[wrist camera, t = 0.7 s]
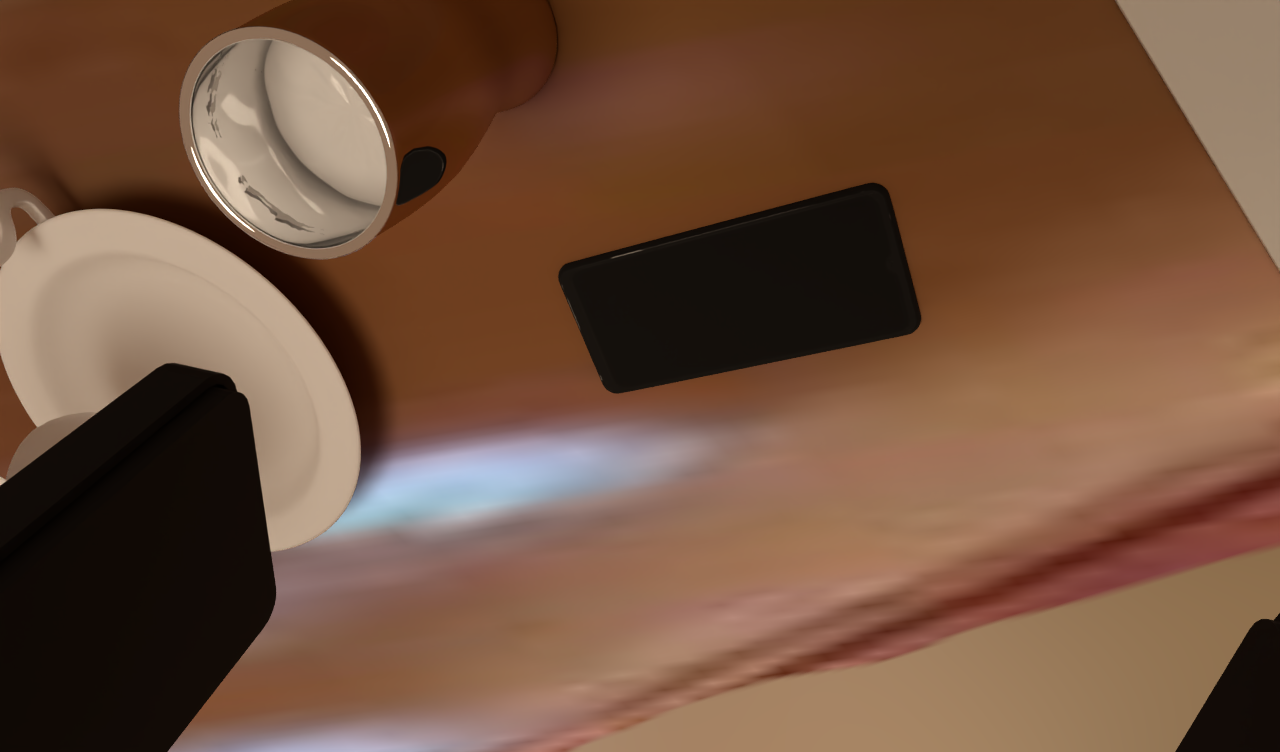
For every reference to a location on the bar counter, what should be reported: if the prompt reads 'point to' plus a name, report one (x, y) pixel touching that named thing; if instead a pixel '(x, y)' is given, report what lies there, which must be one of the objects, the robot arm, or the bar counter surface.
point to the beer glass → (353, 110)
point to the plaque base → (1224, 91)
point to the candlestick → (171, 347)
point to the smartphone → (745, 291)
